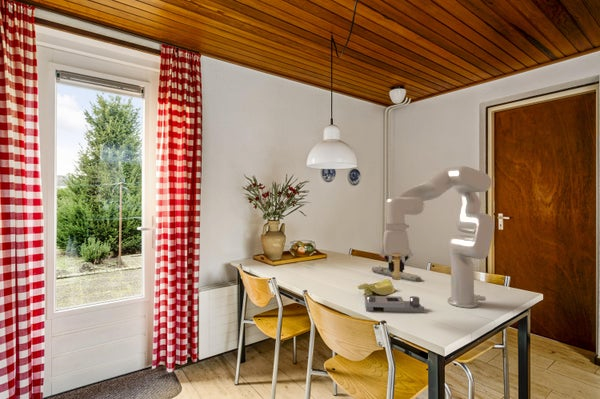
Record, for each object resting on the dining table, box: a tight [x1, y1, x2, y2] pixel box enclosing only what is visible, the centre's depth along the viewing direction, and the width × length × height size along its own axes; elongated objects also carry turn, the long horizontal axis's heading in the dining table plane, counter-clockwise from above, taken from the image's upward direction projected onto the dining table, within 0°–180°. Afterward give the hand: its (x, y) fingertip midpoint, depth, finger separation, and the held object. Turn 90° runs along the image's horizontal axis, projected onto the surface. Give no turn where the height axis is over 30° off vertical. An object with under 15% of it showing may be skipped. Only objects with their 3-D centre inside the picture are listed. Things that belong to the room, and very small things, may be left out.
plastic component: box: [357, 278, 396, 296], centre depth 167 cm, size 20×7×10 cm
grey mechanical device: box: [364, 294, 424, 314], centre depth 144 cm, size 24×9×5 cm, turn 83°
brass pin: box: [391, 254, 403, 281], centre depth 134 cm, size 6×6×11 cm
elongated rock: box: [371, 265, 422, 283], centre depth 201 cm, size 35×5×10 cm
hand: (396, 271), depth 134 cm, fingers closed on brass pin, 3 cm apart
